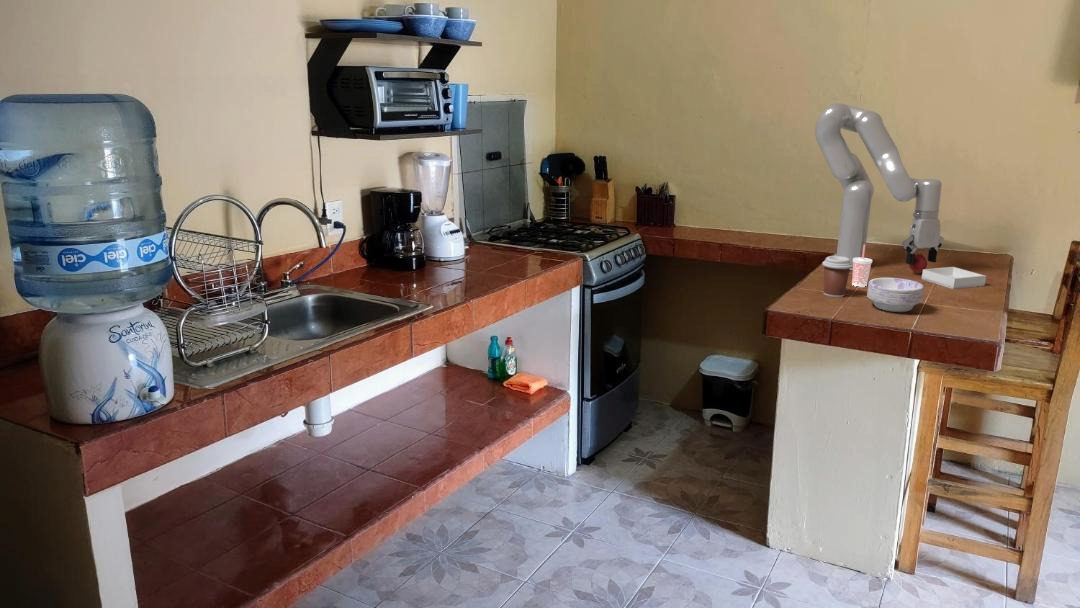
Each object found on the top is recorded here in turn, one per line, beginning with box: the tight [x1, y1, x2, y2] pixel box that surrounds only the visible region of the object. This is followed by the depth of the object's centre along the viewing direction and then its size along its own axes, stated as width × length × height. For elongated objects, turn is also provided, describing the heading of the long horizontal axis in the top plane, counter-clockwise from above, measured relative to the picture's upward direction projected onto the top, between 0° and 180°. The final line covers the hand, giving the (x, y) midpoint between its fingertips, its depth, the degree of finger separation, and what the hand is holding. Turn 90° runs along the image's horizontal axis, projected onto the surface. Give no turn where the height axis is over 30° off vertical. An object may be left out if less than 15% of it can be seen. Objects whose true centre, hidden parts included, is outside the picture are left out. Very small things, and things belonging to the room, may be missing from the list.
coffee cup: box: [821, 255, 853, 298], centre depth 247 cm, size 9×9×12 cm
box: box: [921, 266, 987, 290], centre depth 264 cm, size 14×14×4 cm
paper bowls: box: [866, 277, 925, 313], centre depth 233 cm, size 15×15×8 cm
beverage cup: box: [851, 245, 873, 288], centre depth 258 cm, size 6×6×14 cm
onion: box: [908, 251, 928, 275], centre depth 275 cm, size 6×6×8 cm
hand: (920, 262), depth 274 cm, fingers open, 9 cm apart
